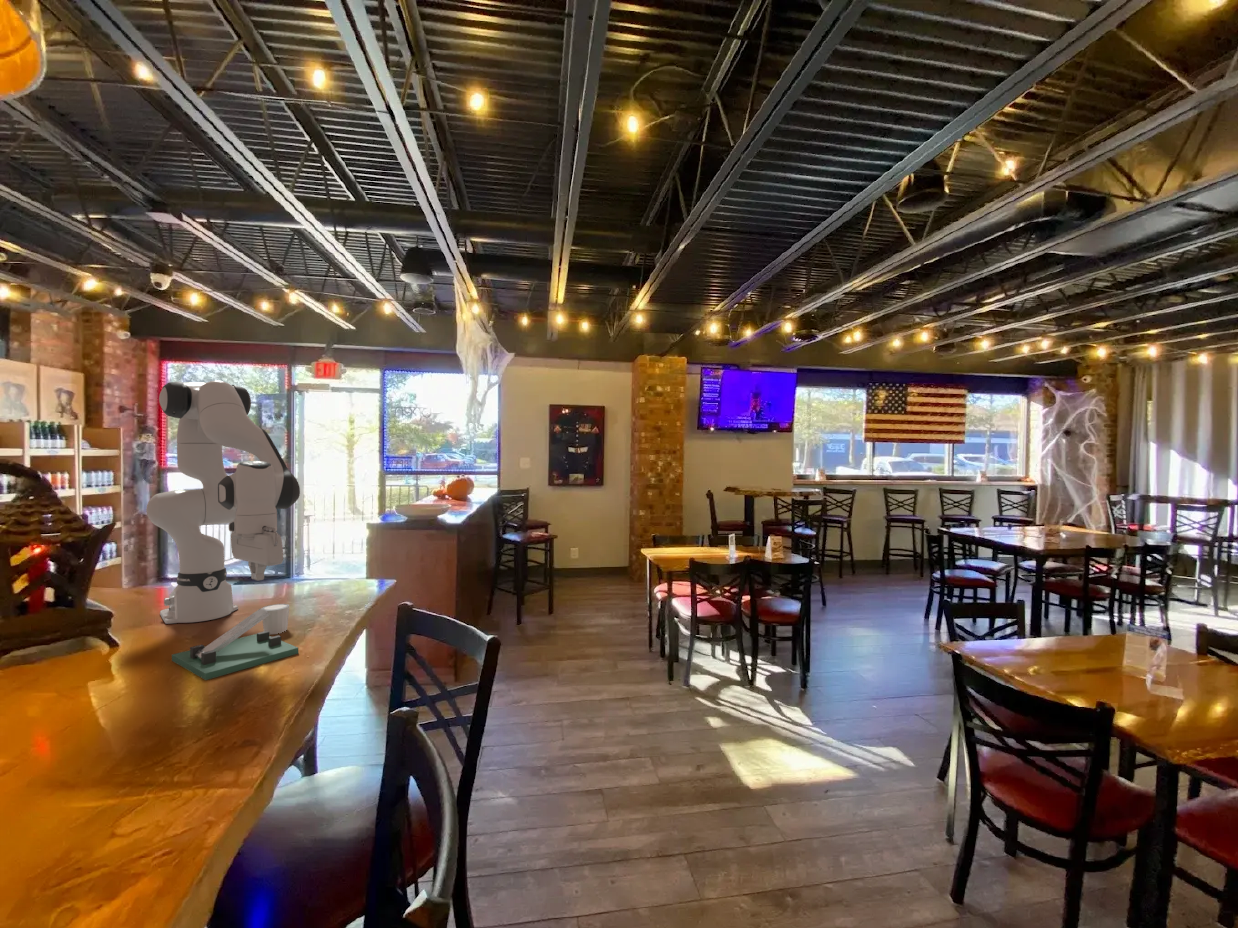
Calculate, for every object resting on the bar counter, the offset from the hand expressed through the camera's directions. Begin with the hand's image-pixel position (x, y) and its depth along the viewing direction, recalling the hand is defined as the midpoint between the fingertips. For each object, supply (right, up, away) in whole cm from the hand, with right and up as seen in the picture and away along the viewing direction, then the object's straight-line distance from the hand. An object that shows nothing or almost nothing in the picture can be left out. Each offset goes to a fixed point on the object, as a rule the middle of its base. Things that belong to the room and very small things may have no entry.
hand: (257, 579), depth 143 cm
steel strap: (-3, -13, -4) cm, 14 cm away
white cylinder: (-5, -18, +16) cm, 25 cm away
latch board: (-3, -19, -3) cm, 19 cm away
